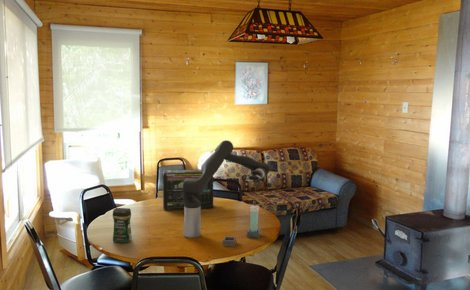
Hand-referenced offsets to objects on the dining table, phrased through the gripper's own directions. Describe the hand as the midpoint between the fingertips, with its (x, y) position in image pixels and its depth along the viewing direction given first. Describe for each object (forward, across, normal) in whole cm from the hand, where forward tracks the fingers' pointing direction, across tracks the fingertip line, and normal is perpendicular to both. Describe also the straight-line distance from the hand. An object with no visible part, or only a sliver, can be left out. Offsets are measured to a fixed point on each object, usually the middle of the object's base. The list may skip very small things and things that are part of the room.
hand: (250, 180), depth 248 cm
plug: (+10, +5, +29) cm, 31 cm away
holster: (+27, -4, +30) cm, 41 cm away
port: (+10, +5, +30) cm, 32 cm away
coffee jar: (+42, -61, +30) cm, 80 cm away
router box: (-30, -54, +30) cm, 69 cm away
